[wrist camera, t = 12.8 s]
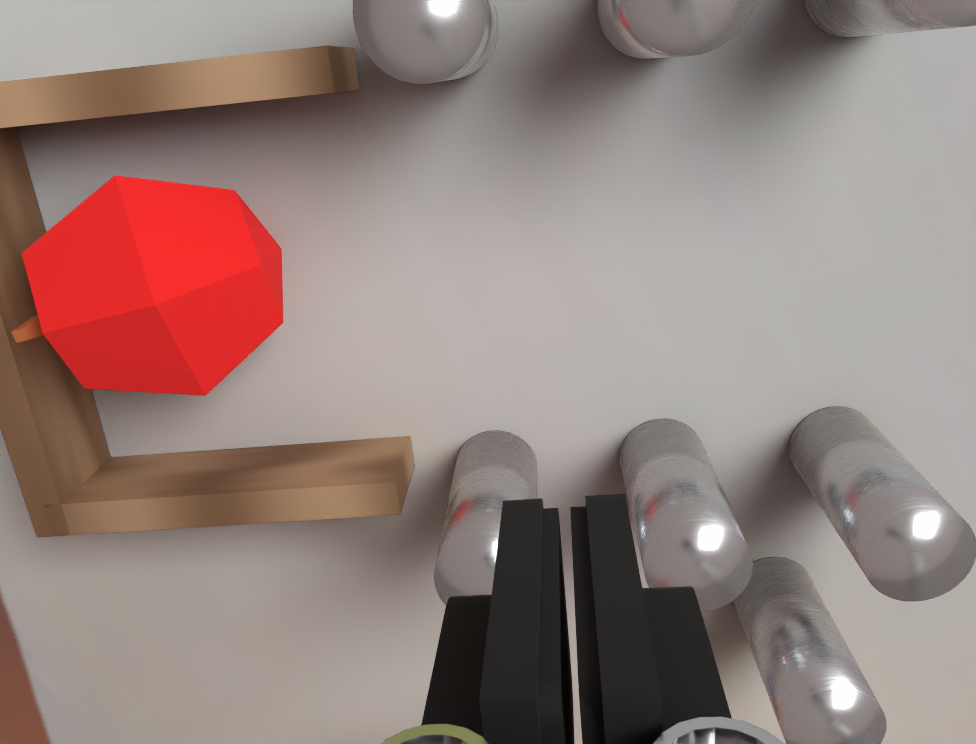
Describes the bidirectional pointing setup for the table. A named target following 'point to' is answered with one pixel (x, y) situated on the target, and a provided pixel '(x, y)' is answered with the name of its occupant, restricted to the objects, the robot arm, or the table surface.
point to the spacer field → (676, 447)
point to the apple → (155, 287)
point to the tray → (71, 408)
